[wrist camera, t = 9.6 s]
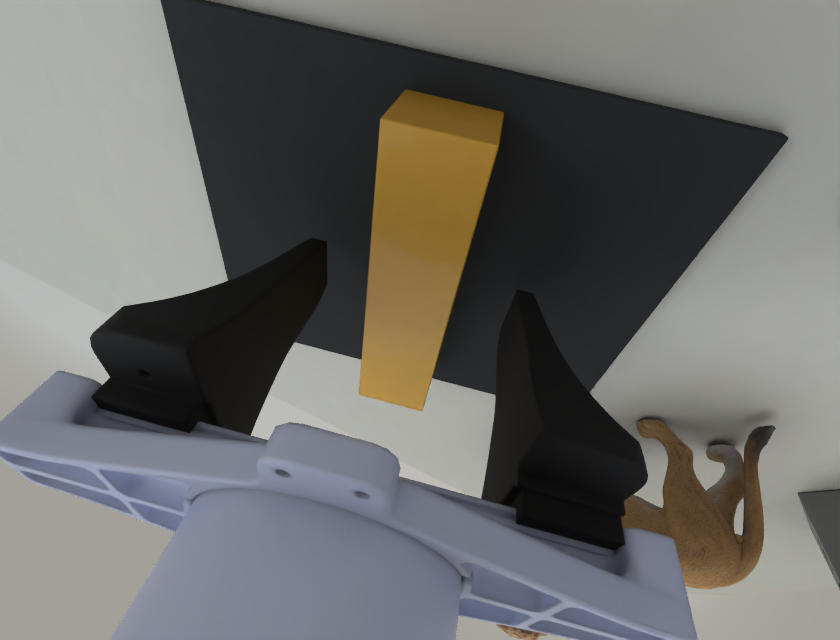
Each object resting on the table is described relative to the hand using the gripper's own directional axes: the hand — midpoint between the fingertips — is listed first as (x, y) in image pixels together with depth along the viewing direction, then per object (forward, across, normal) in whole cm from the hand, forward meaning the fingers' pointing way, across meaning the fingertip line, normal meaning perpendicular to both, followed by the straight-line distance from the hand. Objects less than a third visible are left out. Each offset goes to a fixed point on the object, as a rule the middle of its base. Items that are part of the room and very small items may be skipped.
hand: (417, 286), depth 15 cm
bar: (+1, 0, 0) cm, 1 cm away
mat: (+2, 0, 0) cm, 2 cm away
